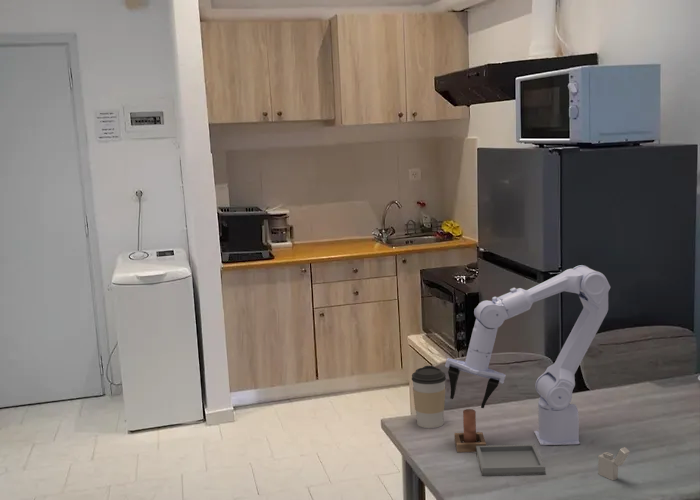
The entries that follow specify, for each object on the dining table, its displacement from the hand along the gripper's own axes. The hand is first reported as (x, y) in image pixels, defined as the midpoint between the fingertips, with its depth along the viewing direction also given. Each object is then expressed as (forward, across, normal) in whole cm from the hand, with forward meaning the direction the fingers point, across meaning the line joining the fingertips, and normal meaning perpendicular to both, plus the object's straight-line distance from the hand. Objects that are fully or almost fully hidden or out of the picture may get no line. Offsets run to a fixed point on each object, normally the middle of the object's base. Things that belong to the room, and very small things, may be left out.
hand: (467, 402), depth 179 cm
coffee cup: (+13, -9, +13) cm, 20 cm away
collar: (+11, +3, +1) cm, 11 cm away
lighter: (+4, +35, -11) cm, 37 cm away
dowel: (+11, +3, +1) cm, 11 cm away
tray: (+9, +13, -7) cm, 17 cm away
